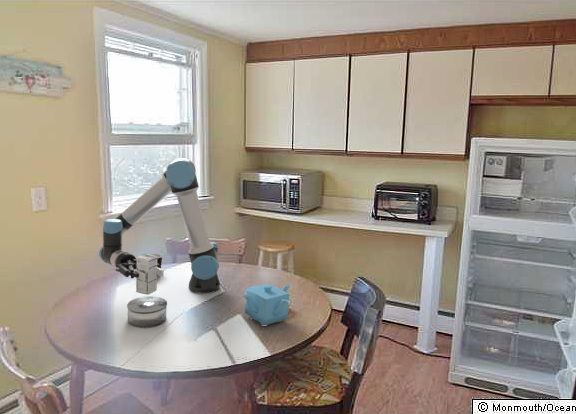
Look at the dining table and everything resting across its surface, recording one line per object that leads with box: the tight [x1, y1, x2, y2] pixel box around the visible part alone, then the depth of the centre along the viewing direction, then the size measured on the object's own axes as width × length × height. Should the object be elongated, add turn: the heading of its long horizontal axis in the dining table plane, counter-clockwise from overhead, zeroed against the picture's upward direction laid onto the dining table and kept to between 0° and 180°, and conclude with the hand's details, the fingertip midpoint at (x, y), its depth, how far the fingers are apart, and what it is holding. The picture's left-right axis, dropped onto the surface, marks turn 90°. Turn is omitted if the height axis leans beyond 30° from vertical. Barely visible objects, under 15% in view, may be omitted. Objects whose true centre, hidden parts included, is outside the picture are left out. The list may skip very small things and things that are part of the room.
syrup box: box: [135, 253, 158, 296], centre depth 162 cm, size 6×6×14 cm
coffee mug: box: [148, 253, 163, 277], centre depth 217 cm, size 12×9×10 cm
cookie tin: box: [126, 295, 168, 329], centre depth 165 cm, size 15×15×7 cm
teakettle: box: [241, 283, 292, 325], centre depth 171 cm, size 19×19×15 cm
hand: (153, 275), depth 159 cm, fingers closed on syrup box, 7 cm apart
